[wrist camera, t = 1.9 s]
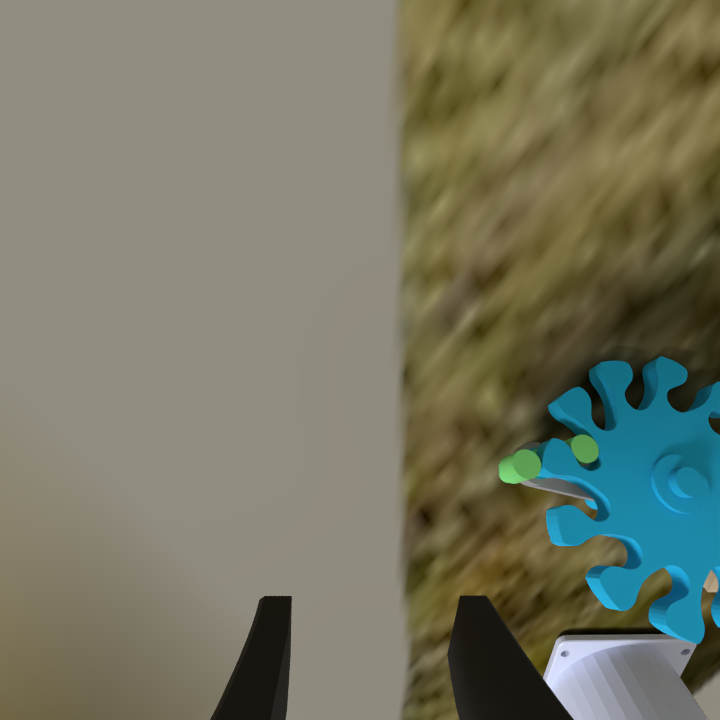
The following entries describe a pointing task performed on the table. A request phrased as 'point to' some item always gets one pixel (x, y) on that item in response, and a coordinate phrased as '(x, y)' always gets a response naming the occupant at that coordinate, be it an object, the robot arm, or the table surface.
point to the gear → (637, 488)
